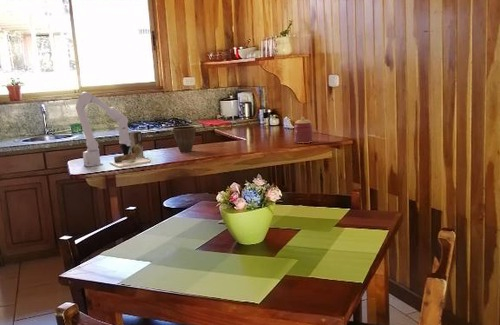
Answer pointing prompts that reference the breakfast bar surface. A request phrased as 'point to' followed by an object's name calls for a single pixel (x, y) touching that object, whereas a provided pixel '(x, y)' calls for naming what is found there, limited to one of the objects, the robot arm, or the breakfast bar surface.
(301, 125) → the canister
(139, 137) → the coffee box
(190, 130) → the plant pot
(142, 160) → the dial board
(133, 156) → the tuning peg
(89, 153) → the robot arm
